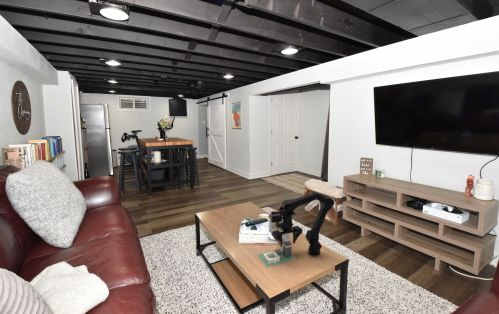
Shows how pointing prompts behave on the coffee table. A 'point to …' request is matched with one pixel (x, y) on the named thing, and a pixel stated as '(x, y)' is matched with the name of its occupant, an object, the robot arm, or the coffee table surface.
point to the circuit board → (275, 258)
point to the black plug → (287, 249)
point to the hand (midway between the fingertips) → (287, 245)
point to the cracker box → (273, 228)
